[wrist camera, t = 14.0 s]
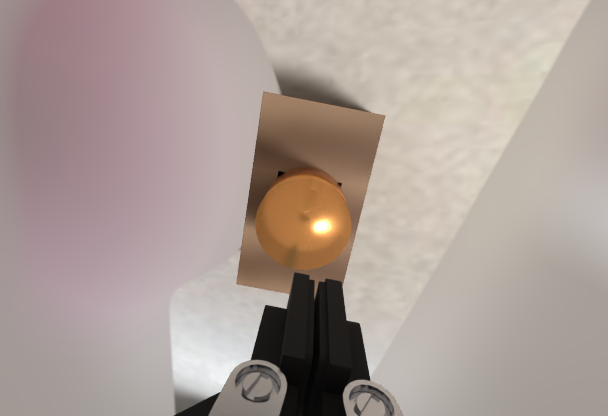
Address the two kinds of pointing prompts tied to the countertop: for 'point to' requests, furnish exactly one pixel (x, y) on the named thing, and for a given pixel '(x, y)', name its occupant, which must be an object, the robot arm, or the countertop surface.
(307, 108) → the block
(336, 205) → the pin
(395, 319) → the countertop surface
